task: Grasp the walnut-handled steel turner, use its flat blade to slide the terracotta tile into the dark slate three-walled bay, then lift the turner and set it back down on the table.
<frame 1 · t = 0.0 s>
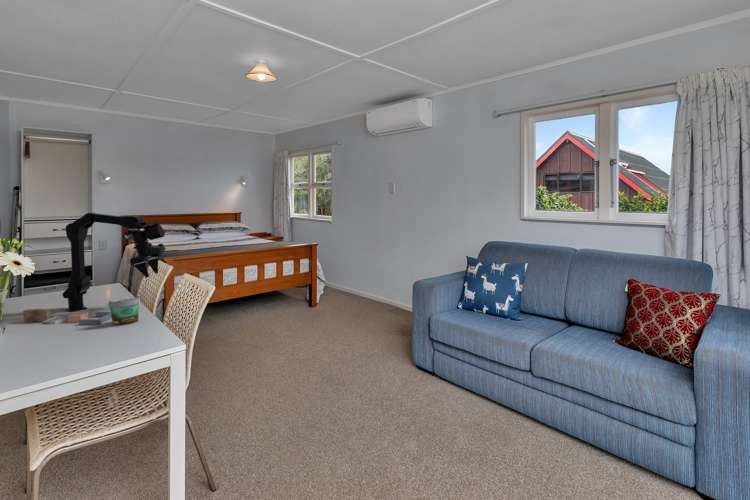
hand: (152, 275, 191), 15 cm above the table, tool pointing down, fingers open, 9 cm apart
food container: (129, 323, 170), on the table
turner: (36, 321, 172), on the table
bay: (97, 320, 174), on the table
tile: (78, 321, 173), on the table
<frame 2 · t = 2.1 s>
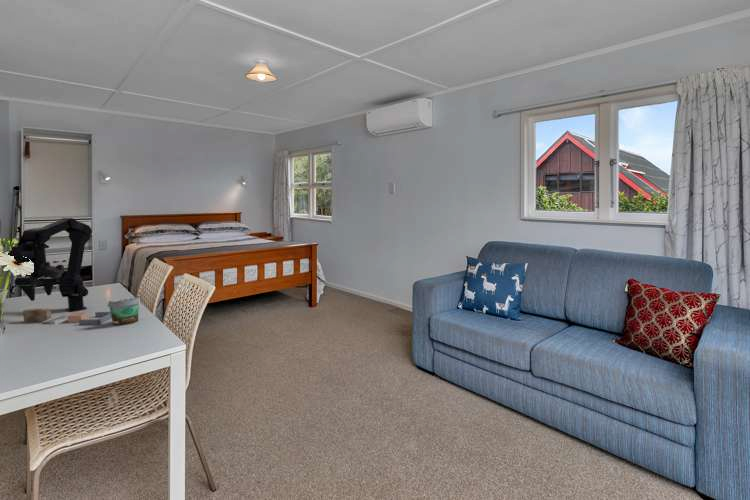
hand: (41, 297, 171), 10 cm above the table, tool pointing down, fingers open, 9 cm apart
nothing on the table moved.
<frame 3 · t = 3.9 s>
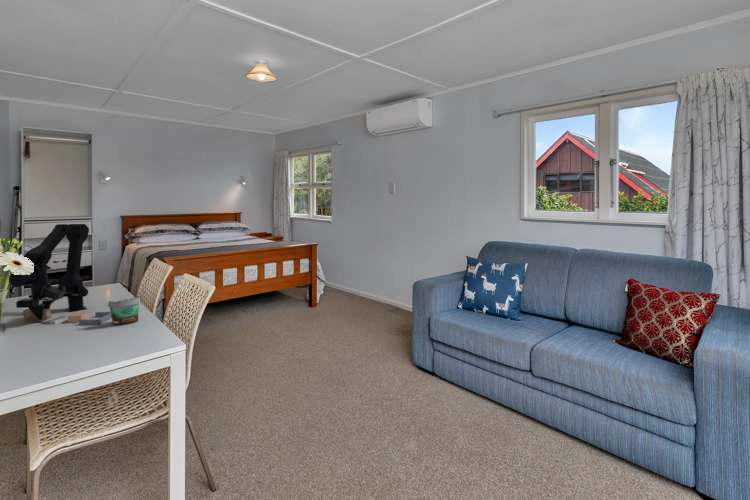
hand: (42, 318, 172), 1 cm above the table, tool pointing down, fingers closed on turner, 2 cm apart
turner: (36, 321, 172), on the table, touching gripper
everything else where it was.
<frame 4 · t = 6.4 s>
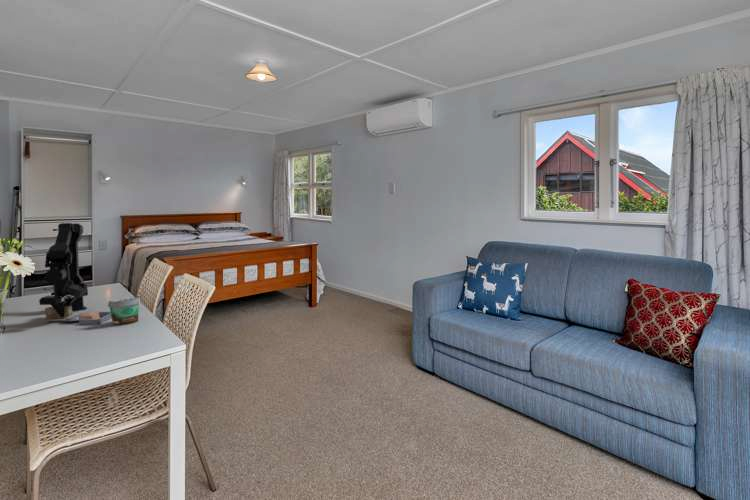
hand: (64, 316, 173), 2 cm above the table, tool pointing down, fingers closed on turner, 2 cm apart
turner: (58, 318, 173), point 1 cm above the table, touching gripper, tile
tile: (89, 320, 173), on the table, touching turner
everything else where it was.
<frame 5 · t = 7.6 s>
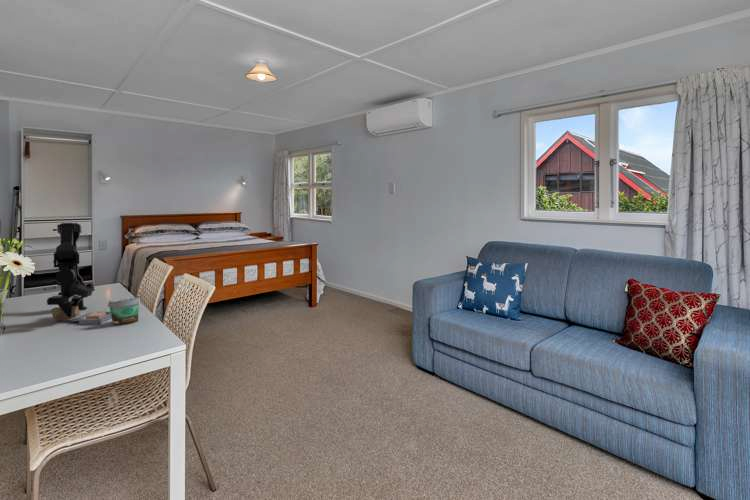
hand: (71, 316, 173), 2 cm above the table, tool pointing down, fingers closed on turner, 2 cm apart
turner: (65, 319, 173), point 1 cm above the table, touching gripper
tile: (96, 321, 174), on the table
everything else where it was.
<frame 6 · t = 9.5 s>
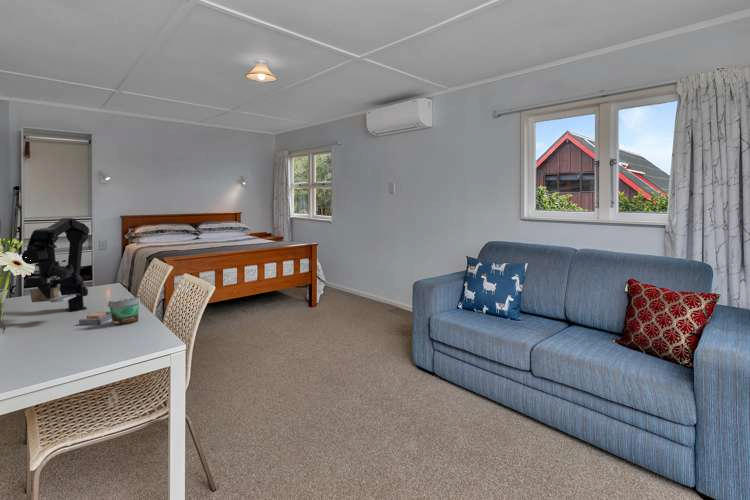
hand: (50, 297, 171), 10 cm above the table, tool pointing down, fingers closed on turner, 2 cm apart
turner: (44, 300, 171), point 9 cm above the table, touching gripper
everything else where it was.
when the fingers open (2 cm above the table, at t = 11.3 s): turner drops 1 cm, on the table.
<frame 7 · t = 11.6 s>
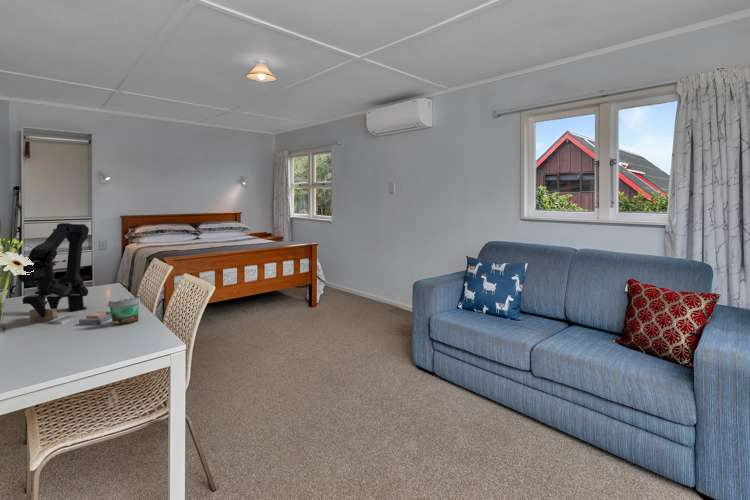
hand: (48, 315, 172), 2 cm above the table, tool pointing down, fingers open, 6 cm apart
turner: (42, 321, 172), on the table
everything else where it was.
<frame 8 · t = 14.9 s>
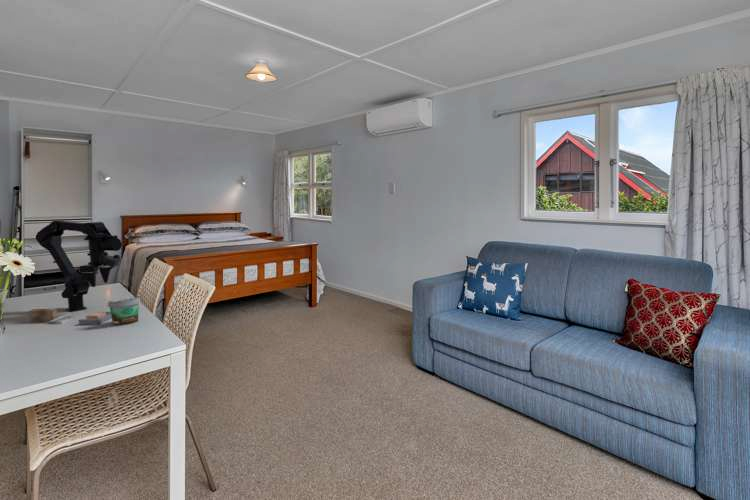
hand: (99, 284, 187), 12 cm above the table, tool pointing down, fingers open, 9 cm apart
nothing on the table moved.
at the end: tile 0.2 cm from the bay (horizontally); the gripper is holding nothing; turner touching table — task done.
